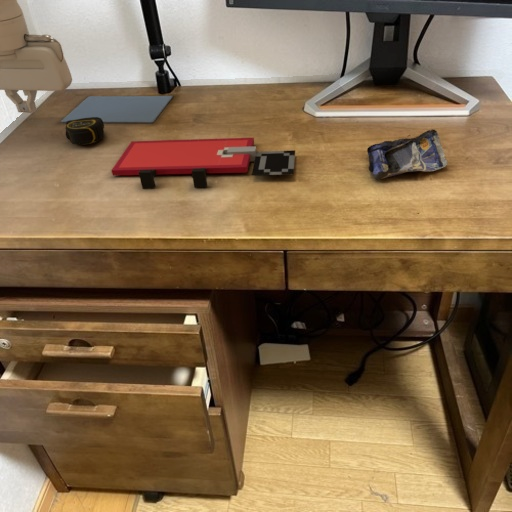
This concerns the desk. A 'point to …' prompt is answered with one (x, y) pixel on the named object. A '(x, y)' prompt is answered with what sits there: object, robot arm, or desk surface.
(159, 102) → the cloth
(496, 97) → the desk surface
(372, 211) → the desk surface
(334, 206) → the desk surface
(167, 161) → the red board with handle
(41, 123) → the desk surface
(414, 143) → the snack package
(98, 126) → the tape measure
